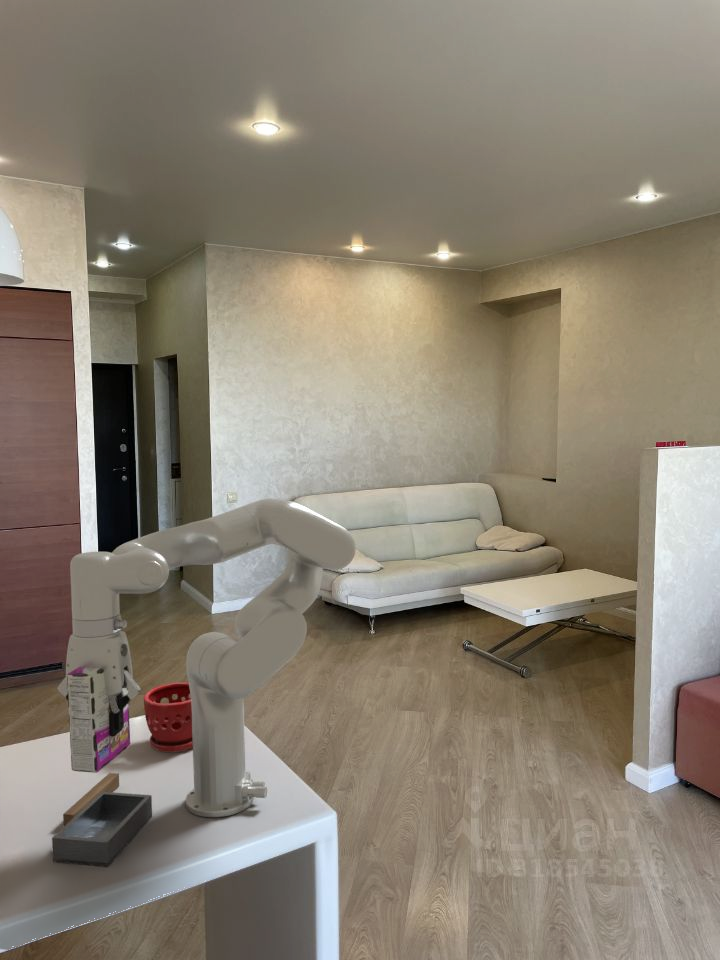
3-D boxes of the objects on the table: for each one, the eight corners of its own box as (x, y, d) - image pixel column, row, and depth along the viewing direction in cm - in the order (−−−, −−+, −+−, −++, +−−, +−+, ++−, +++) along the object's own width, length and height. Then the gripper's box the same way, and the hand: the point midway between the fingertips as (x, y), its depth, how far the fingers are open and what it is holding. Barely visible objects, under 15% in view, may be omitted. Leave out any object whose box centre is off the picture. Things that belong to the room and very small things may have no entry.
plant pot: (144, 737, 169) (143, 685, 168) (203, 729, 173) (202, 679, 172) (146, 761, 156) (144, 705, 156) (209, 752, 160) (207, 698, 159)
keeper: (152, 816, 133) (151, 795, 133) (108, 866, 118) (107, 842, 118) (102, 813, 135) (102, 791, 135) (53, 861, 120) (52, 837, 119)
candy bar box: (105, 743, 131) (102, 652, 130) (131, 745, 130) (128, 653, 129) (68, 771, 120) (65, 672, 119) (96, 774, 120) (93, 674, 118)
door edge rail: (119, 785, 145) (118, 773, 145) (74, 828, 130) (73, 815, 129) (109, 785, 146) (109, 772, 146) (63, 828, 130) (63, 814, 130)
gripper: (154, 622, 126) (157, 726, 127) (62, 619, 129) (67, 721, 130) (133, 633, 119) (137, 744, 120) (36, 630, 122) (41, 738, 123)
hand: (100, 731), depth 125 cm, fingers closed on candy bar box, 5 cm apart
